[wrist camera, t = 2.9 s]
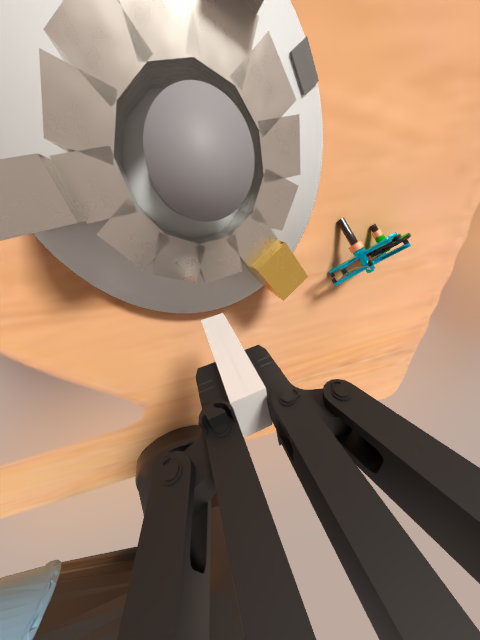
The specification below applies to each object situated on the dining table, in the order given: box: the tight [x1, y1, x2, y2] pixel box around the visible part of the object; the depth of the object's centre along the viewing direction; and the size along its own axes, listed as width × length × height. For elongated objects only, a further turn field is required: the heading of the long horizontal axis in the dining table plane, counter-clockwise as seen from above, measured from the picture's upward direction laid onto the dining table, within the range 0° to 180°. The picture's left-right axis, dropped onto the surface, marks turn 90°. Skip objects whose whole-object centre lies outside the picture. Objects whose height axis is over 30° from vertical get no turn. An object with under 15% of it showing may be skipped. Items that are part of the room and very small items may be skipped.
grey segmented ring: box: [0, 0, 308, 301], centre depth 15 cm, size 21×19×4 cm
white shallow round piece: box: [0, 0, 323, 314], centre depth 14 cm, size 24×24×7 cm
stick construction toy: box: [329, 218, 411, 286], centre depth 24 cm, size 12×7×8 cm
